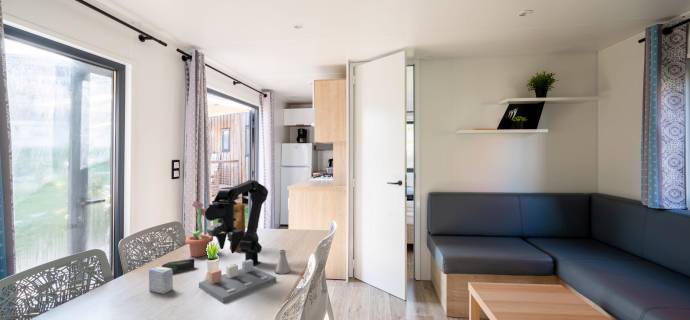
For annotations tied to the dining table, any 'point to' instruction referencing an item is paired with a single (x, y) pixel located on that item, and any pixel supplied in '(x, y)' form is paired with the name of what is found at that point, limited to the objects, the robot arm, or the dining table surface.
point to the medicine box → (160, 280)
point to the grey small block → (247, 266)
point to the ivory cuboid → (232, 271)
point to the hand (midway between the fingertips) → (227, 251)
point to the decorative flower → (198, 241)
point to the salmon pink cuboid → (215, 276)
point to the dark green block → (180, 265)
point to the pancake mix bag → (239, 221)
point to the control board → (237, 284)
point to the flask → (282, 263)
